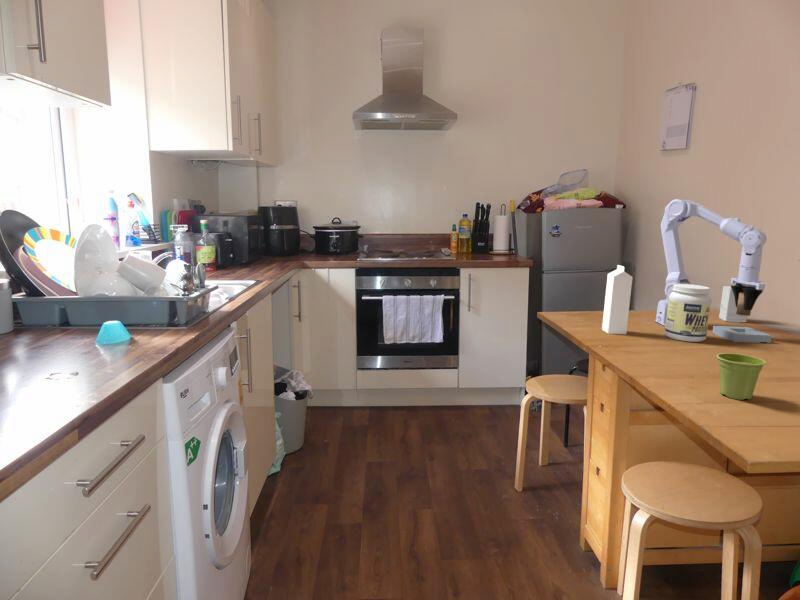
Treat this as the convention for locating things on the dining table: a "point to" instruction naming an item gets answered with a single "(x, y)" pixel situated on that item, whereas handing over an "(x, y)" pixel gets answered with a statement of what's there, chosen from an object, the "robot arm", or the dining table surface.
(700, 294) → the supplement tub
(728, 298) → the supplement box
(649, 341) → the dining table surface
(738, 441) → the dining table surface
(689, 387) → the dining table surface
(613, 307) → the milk
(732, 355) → the plant pot
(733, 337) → the socket block
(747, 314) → the dowel
